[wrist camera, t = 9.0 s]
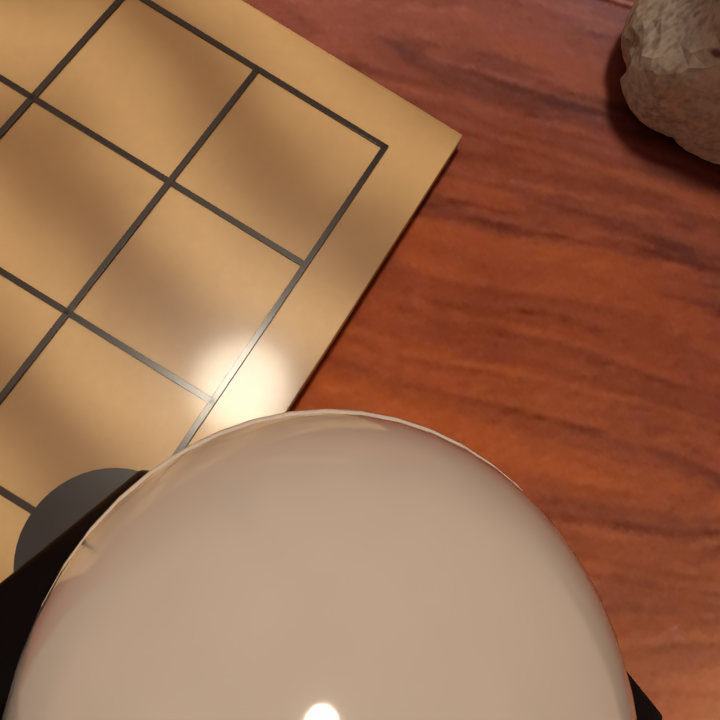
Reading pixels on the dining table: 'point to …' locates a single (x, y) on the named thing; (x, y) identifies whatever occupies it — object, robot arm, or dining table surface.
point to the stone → (675, 71)
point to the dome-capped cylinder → (322, 589)
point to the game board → (176, 234)
